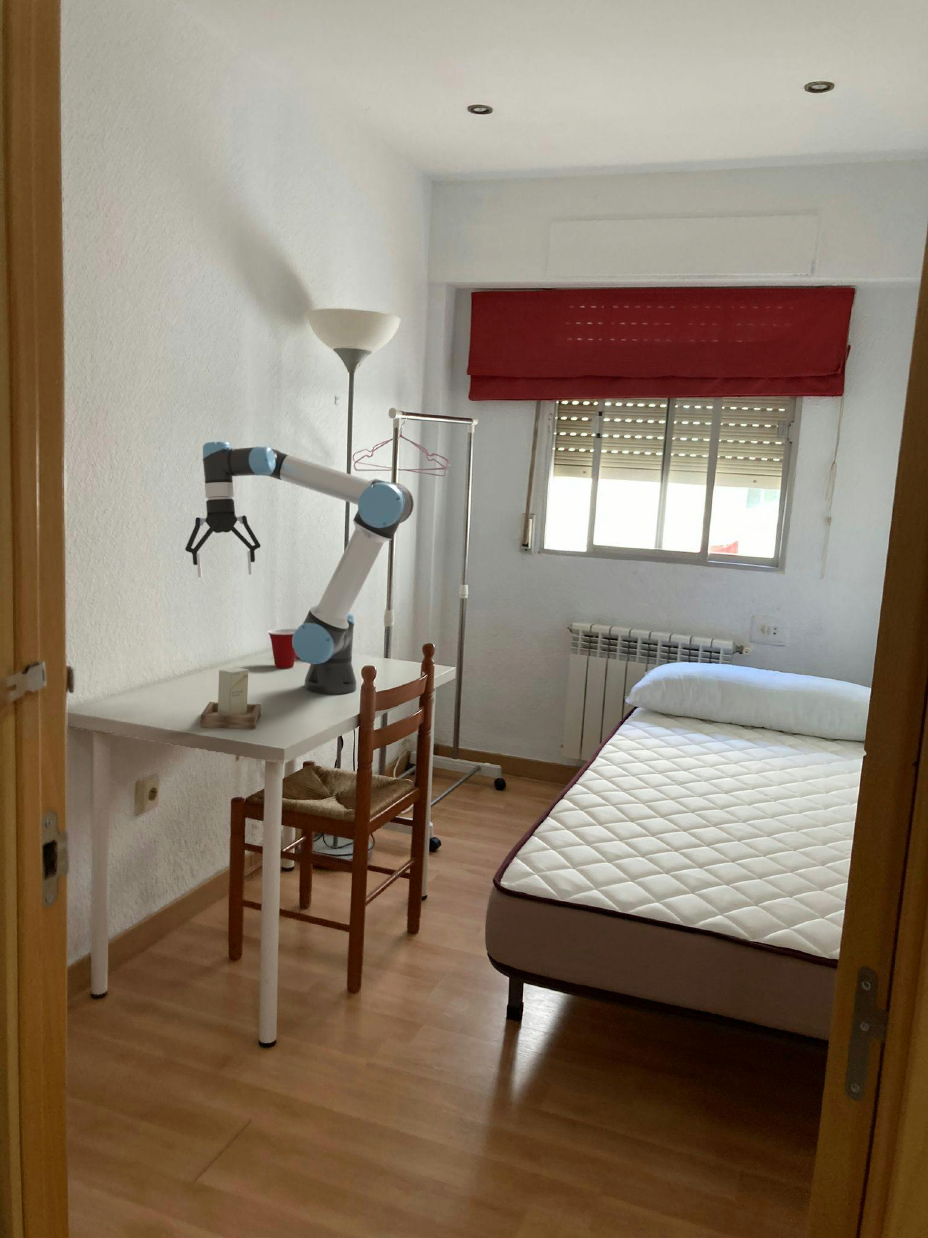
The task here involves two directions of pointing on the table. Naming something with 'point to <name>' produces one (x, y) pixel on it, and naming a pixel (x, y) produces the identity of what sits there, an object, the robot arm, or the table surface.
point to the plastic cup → (283, 647)
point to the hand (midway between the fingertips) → (225, 575)
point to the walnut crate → (230, 717)
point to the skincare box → (233, 691)
